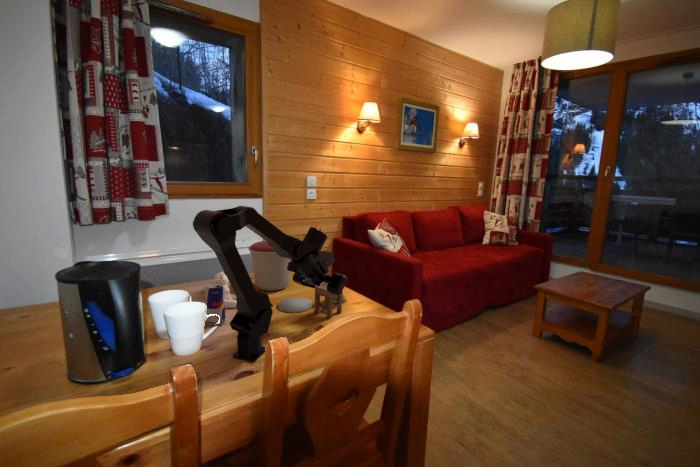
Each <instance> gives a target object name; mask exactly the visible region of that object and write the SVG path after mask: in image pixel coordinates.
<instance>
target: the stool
mask: <svg viewBox="0 0 700 467" xmlns="http://www.w3.org/2000/svg"><path fill="white" fill-rule="evenodd" d="M327 285H328V283H325V282H323V283H321V284H320V286H319V287H318V286H315V288H314V315H320V314H321V309H322V310H325V311H326V319H328V320H331V319H333V310H335V309H336V313H337V314H339V315H340V314H342V313H343V311H342V310H343V303H342V296H338V295H337V302H336V301H333V300H332V297H334V296H336V295H334V294H330V292H328V291H327ZM321 297H323V298H324V300H322V301H321Z"/></svg>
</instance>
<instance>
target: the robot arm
mask: <svg viewBox="0 0 700 467" xmlns="http://www.w3.org/2000/svg"><path fill="white" fill-rule="evenodd" d="M192 227H193V229H194V231H195V232H196V234H197V236H198V237H199V238H200V239H201V241H203V242H204V244H205V245H207V246H208V247H209V248H210V249H211V250H212V251H213V252H214V254H215V255H216V258H217V260H218V263H219V264H220V266H221V268H222V270H223V272H224V274H225V275H226V276H227V278H228V281H229V282H228V283H229V285H231V288H232V290H233V292H234V294H235V295H236V301H237V303H236V308H235V309H236V313H235V314H234V316H233V318H231V321H230V322H229V326H230V328H231V330H233V331H236V333H237V335H236V341H237V343H236V345H237V346H236V348H237V350H236V352H234V353H233V354H232V358H233V359H239V360H244V361H247V362H256V361H257V360H258V359H260V357H261V356H262V355H263V354H265V353H266V351H265V347H266V346H263V345H264V344H263V336H264V335H265V334H267V333H268V331H269V330H270V324H271V321H272V317H273V314H274V313H273V312H274V311H273V307H274V304H272V303H271V300H270V296H269V295H268V294H267V293H265V292H262V291H260V290H257V289H256V287H255V285H254V283H253V280H252V278H251V276H250V274H249V272H248V269H247V267H246V266H245V264H244V261H243V259H242V257H241V254H240V252H239V250H238V247H237V246H236V238H237V232H238V231H241V230H242V229H244V228H245V227H246V228H247V229H249V230H250V231H251V232H253V234H254V233H255V234H256V235H257V236H259V237H260V238H262V239H263V241H267V242H269V243H270V244H271V245H272V248H273V250H274V251H275V252H276V253H277V254H278V255H279V256H280V257H284V258H288V259H291V261H290V262H288V266H287V270H288V271H291V273H294V274H292V281H293V282H294V283H295V284H297V285H301V286H303V287H308V288H311V289H315V286H318V287H319V286H320V284H322V283H328V285H327V291H328V292H330V294H334V295H338V296H342V294H343V293H344V292H343V291H344V288H345V286H346V284H347V283H348V281H349V278H348V277H347V275H346V274H343V273H339V272H334V273H333V274H332V275H328V274H329V273H330V269H329V267H331V265H332V264H334V263H335V258H334V254H333V253H332V252H331V251H325V250H322V249H323V248H324V246H325V244H326V242H327V240H328V239H329V238H328V235H327V234H326V233H324V232H323V231H321V230H319V229H317V228H316V227H313V226H311V227H309V229H308V230H307V233H306V234H305V236H304V238H303V239H300V238H298V237H295V236H293V235H290V234H286V233H285V232H283V231H282V230H281V229H280V228H278V227H277V226H276V225H275V224H274V223H272V222H270V221H269V220H268V218H267V219H266V218H265V217H264V216H263V215H262V214H261V213H259V212H258V210H256V208H255V207H252V206H246V205H238V206H235V207H231V208H226V209H219V210H209V209H204V210H201V211H199V212H197V214H196V215H195V217H194V219H193V221H192Z"/></svg>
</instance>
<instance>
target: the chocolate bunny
mask: <svg viewBox="0 0 700 467" xmlns="http://www.w3.org/2000/svg"><path fill="white" fill-rule="evenodd" d="M332 300H333V301H336V302H337V295H336V296H334V297H332ZM347 302H348V298H347V297H346V295H345V293H344V292H343V294H342V304H345V303H347Z"/></svg>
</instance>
